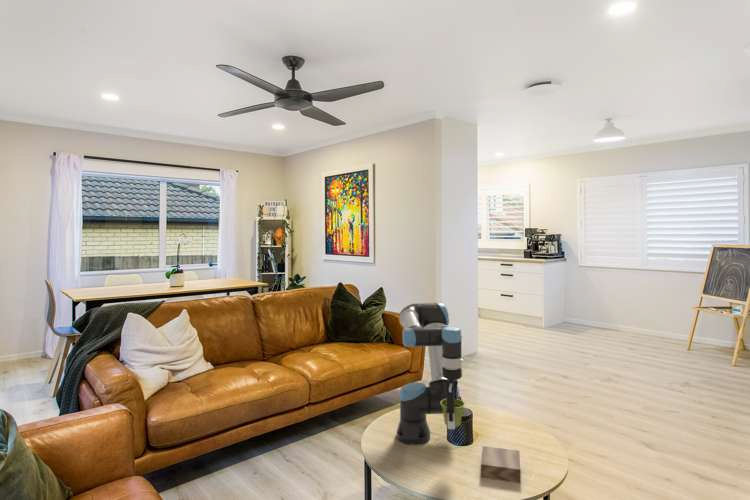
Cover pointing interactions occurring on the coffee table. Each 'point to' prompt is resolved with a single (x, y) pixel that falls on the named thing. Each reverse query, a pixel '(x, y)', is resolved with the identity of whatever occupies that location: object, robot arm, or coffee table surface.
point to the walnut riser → (500, 464)
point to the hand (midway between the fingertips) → (452, 423)
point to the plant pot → (457, 408)
